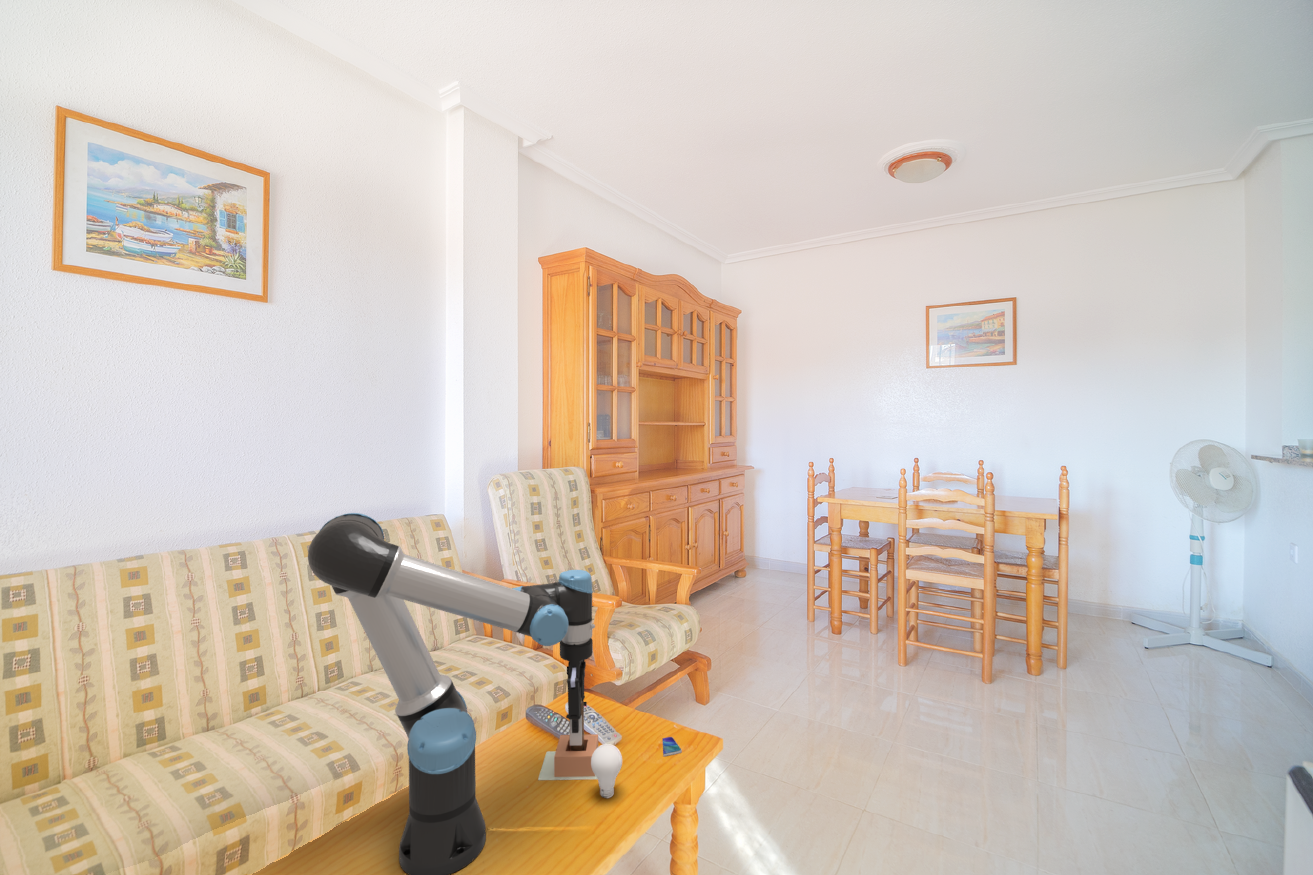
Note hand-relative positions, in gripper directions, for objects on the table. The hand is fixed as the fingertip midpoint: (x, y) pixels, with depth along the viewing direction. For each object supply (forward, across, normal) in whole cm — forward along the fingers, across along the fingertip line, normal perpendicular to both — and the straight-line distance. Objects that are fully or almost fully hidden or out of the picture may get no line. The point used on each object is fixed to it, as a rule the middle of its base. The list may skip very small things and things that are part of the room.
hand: (576, 739), depth 129 cm
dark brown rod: (+5, 0, 0) cm, 5 cm away
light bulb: (+7, -11, -8) cm, 15 cm away
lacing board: (+7, 0, 0) cm, 7 cm away
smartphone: (+7, +7, -16) cm, 19 cm away
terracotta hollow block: (+6, 0, 0) cm, 6 cm away
